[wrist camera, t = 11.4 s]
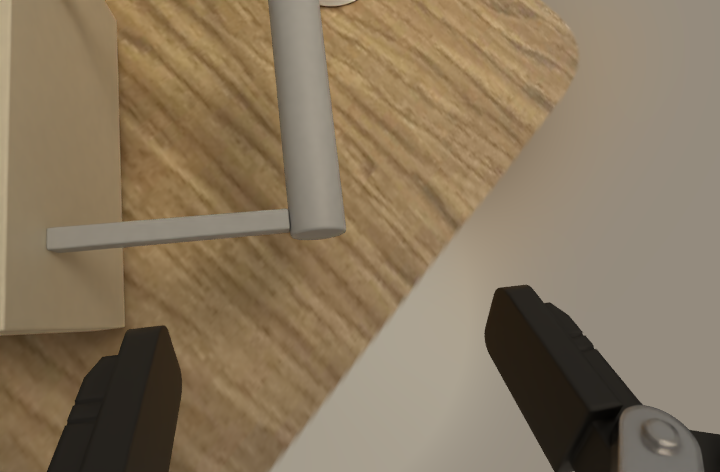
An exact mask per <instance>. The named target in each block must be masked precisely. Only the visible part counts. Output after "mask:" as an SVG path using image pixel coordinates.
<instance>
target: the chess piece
mask: <svg viewBox="0 0 720 472" xmlns="http://www.w3.org/2000/svg"><path fill="white" fill-rule="evenodd" d="M353 1H355V0H319V5H323V6H340V5H345V4H348V3H351V2H353Z"/></svg>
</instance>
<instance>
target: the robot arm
mask: <svg viewBox="0 0 720 472" xmlns="http://www.w3.org/2000/svg"><path fill="white" fill-rule="evenodd" d="M485 343H486V347H487V350H488V352H489V354H490V356H491V358H492V360H493V362H494V363H495V365H496V367H497V369H498V371H499V372H500V374H501V376H502V378H503V380H504V381H505V383H506V385H507V387H508V389H509V391H510V392H511V394H512V396H513V398H514V399H515V401H516V403H517V405H518V407H519V408H520V410H521V412H522V414H523V415H524V418H525V419H526V421H527V423H528V424H529V426H530V428H531V430H532V432H533V434H534V436H535V437H536V439H537V441H538V443H539V445H540V446H541V448H542V450H543V452H544V454H545V455H546V457H547V459H548V461H549V463H550V464H551V466H552V468H553V470H554V471H555V472H572V471H575V472H720V435H719V434H712V433H706V432H699V431H692V430H689V429H688V428H687V427H686V426H684V425H683V424H682V423H681V422H680V421H679V420H677V419H676V418H674V417H673V416H671V415H670V414H668V413H666V412H664V411H662V410H660V409H657V408H654V407H650V406H645V405H642V403H640V401H639V400H638V399H637V398H636V397H635V396H634V394H633V393H632V392H631V391H630V389H629V388H628V387H627V386H626V384H625V383H624V382H623V381H622V380H621V378H620V377H619V376H618V375H617V373H615V371H614V370H613V369H612V368H611V366H610V365H609V364H608V363H607V361H606V360H605V359H604V358H603V357H602V355H601V354H600V353H599V352H598V351H597V350H596V349H594V347H593V344H592V343H591V342H590V341H589V340H588V338H587V337H586V336H583V334H582V331H581V330H580V329H579V327H578V326H577V325H576V324H575V323H574V321H573V320H572V319H571V318H570V317H569V315H567V314H566V313H564V312H563V311H561V310H560V309H559V308H557V307H556V306H554V305H553V304H551V303H543V301H542V300H541V299H540V298H539V296H538V295H537V294H536V292H535V291H534V290H533V289H532V288H531V287H530V286H528V285H520V286H511V287H503V288H498V289H497V290H496V291H495V293H494V297H493V300H492V304H491V308H490V312H489V316H488V320H487V323H486V327H485ZM181 393H182V378H181V371H180V367H179V364H178V360H177V357H176V354H175V351H174V348H173V345H172V342H171V338H170V335H169V332H168V329H167V328H166V326H155V327H146V328H137V329H129V330H128V331H127V332H126V333H125V336H124V339H123V341H122V344H121V347H120V350H119V353H118V355H113V356H105V357H102V358H101V359H100V360H99V361H98V363H97V364H96V365H95V366H94V367H93V368H92V369H91V371H90V372H89V373H88V374H87V375H86V376H85V377H84V379H83V382H82V384H81V387H80V390H79V392H78V395H77V397H76V400H75V406H73V407H72V410H71V412H70V415H69V417H68V420H67V422H68V423H67V425H66V426H65V427H64V430H63V432H62V435H61V437H60V440H59V442H58V445H57V447H56V450H55V452H54V455H53V457H52V460H51V462H50V465H49V467H48V470H47V472H168V471H169V465H170V459H171V454H172V448H173V442H174V436H175V430H176V424H177V418H178V412H179V406H180V400H181Z"/></svg>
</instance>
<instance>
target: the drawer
mask: <svg viewBox="0 0 720 472" xmlns="http://www.w3.org/2000/svg"><path fill="white" fill-rule="evenodd" d="M268 4H269V15H270V25H271V35H272V46H273V56H274V67H275V77H276V87H277V98H278V108H279V119H280V129H281V139H282V150H283V160H284V171H285V181H286V191H287V202H288V209H275V210H263V211H250V212H238V213H225V214H213V215H201V216H188V217H176V218H164V219H151V220H139V221H126V222H122V197H121V160H120V123H119V86H118V49H117V21H116V19H115V17H114V15H113V14H112V12H111V10H110V9H109V7H108V5H107V4H106V2H105V0H0V336H1V335H23V334H44V333H66V332H88V331H98V330H107V329H115V328H123V327H125V308H124V271H123V247H134V246H145V245H156V244H167V243H178V242H189V241H201V240H212V239H223V238H234V237H245V236H256V235H267V234H278V233H288V232H290V233H291V236H292V238H294V239H298V240H318V239H326V238H331V237H336V236H339V235H341V234H343V233H345V231H346V223H345V215H344V206H343V198H342V190H341V181H340V173H339V164H338V156H337V148H336V139H335V131H334V123H333V114H332V106H331V97H330V89H329V81H328V72H327V64H326V55H325V47H324V39H323V30H322V22H321V14H320V5H319V0H268Z"/></svg>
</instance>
